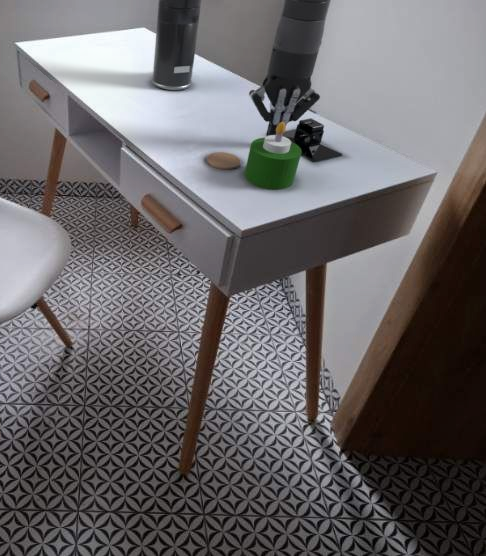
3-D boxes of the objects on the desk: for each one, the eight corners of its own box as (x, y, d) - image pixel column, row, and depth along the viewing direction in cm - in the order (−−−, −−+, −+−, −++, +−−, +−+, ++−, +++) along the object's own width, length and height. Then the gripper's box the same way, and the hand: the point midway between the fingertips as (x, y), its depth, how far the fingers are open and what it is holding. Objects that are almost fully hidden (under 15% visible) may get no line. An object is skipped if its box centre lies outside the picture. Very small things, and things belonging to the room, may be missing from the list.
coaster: (203, 154, 95) (203, 152, 95) (234, 153, 96) (235, 151, 95) (211, 169, 90) (211, 167, 90) (244, 169, 91) (244, 167, 91)
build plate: (270, 136, 102) (275, 113, 99) (298, 130, 105) (304, 108, 102) (314, 162, 94) (321, 138, 91) (343, 155, 96) (351, 131, 94)
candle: (235, 169, 91) (246, 114, 84) (275, 163, 93) (289, 109, 87) (260, 192, 85) (274, 135, 78) (303, 185, 87) (320, 129, 81)
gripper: (325, 39, 90) (299, 132, 101) (251, 38, 89) (234, 133, 100) (343, 51, 85) (314, 149, 96) (265, 51, 83) (245, 150, 94)
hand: (273, 141), depth 98 cm, fingers closed
